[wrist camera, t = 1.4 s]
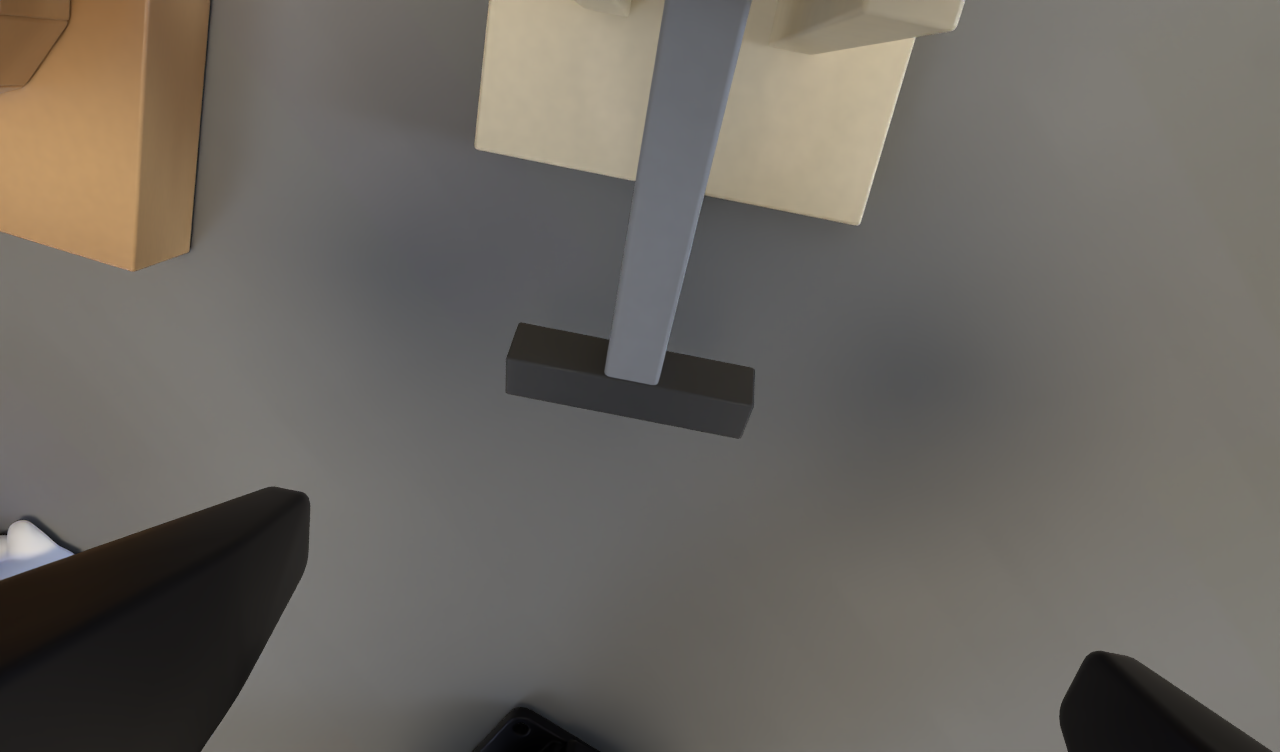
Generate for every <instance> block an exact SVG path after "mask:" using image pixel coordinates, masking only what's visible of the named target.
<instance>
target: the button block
mask: <svg viewBox="0 0 1280 752" xmlns="http://www.w3.org/2000/svg"><path fill="white" fill-rule="evenodd" d="M209 10H210V0H0V232H4V233H7V234H10V235H14V236H17V237H20V238H23V239H27V240H30V241H33V242H36V243H40V244H43V245H46V246H50V247H53V248H56V249H59V250H63V251H66V252H69V253H73V254H76V255H79V256H82V257H86V258H89V259H92V260H95V261H99V262H102V263H105V264H109V265H112V266H115V267H118V268H122V269H125V270H128V271H132V272H134V271H137V270H140V269H143V268H146V267H149V266H152V265H154V264H157V263H160V262H163V261H166V260H168V259H171V258H174V257H177V256H180V255H183V254H185V253H188V252H189V249H190V237H191V225H192V214H193V202H194V190H195V178H196V166H197V154H198V142H199V130H200V118H201V106H202V94H203V82H204V70H205V58H206V46H207V34H208V22H209Z"/></svg>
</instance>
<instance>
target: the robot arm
mask: <svg viewBox="0 0 1280 752" xmlns="http://www.w3.org/2000/svg"><path fill="white" fill-rule="evenodd" d="M309 527H310V501H309V498H308V496H307V495H306V494H305V493H303V492H299V491H294V490H289V489H284V488H279V487H267V488H264V489H261V490H258V491H255V492H252V493H250V494H247V495H244V496H241V497H238V498H235V499H232V500H229V501H227V502H224V503H221V504H218V505H215V506H212V507H209V508H207V509H204V510H201V511H198V512H195V513H192V514H189V515H186V516H184V517H181V518H178V519H175V520H172V521H169V522H166V523H163V524H161V525H158V526H155V527H152V528H149V529H146V530H143V531H140V532H138V533H135V534H132V535H129V536H126V537H123V538H120V539H117V540H115V541H112V542H109V543H106V544H103V545H100V546H97V547H94V548H92V549H89V550H86V551H83V552H80V553H77V554H74V555H71V556H69V557H66V558H63V559H60V560H57V561H54V562H51V563H48V564H46V565H43V566H40V567H37V568H34V569H31V570H28V571H25V572H23V573H20V574H17V575H14V576H11V577H8V578H5V579H2V580H0V752H201V750H202V749H203V747H204V746H205V744H206V743H207V741H208V740H209V738H210V737H211V735H212V734H213V733H214V731H215V730H216V728H217V727H218V725H219V724H220V722H221V721H222V719H223V718H224V716H225V715H226V713H227V712H228V710H229V709H230V707H231V706H232V704H233V702H234V701H235V699H236V698H237V696H238V695H239V693H240V691H241V689H242V687H243V686H244V684H245V682H246V680H247V679H248V677H249V675H250V673H251V671H252V669H253V668H254V666H255V664H256V662H257V660H258V658H259V656H260V654H261V653H262V651H263V649H264V647H265V645H266V643H267V641H268V639H269V638H270V636H271V634H272V632H273V630H274V628H275V626H276V624H277V623H278V621H279V619H280V617H281V615H282V613H283V611H284V609H285V608H286V606H287V604H288V602H289V600H290V598H291V596H292V594H293V593H294V591H295V589H296V587H297V585H298V583H299V581H300V579H301V577H302V575H303V573H304V570H305V567H306V564H307V560H308V550H309ZM1059 718H1060V726H1061V730H1062V733H1063V737H1064V740H1065V743H1066V746H1067V750H1068V752H1272V751H1271V750H1269V749H1268V748H1266V747H1265V746H1263V745H1262V744H1260V743H1259V742H1258V741H1256V740H1255V739H1253V738H1252V737H1250V736H1249V735H1247V734H1246V733H1244V732H1243V731H1241V730H1240V729H1238V728H1237V727H1235V726H1234V725H1232V724H1231V723H1229V722H1228V721H1226V720H1225V719H1223V718H1222V717H1220V716H1219V715H1217V714H1216V713H1214V712H1213V711H1211V710H1210V709H1209V708H1207V707H1206V706H1204V705H1203V704H1201V703H1200V702H1198V701H1197V700H1195V699H1194V698H1192V697H1191V696H1189V695H1188V694H1186V693H1185V692H1183V691H1182V690H1180V689H1179V688H1177V687H1176V686H1174V685H1173V684H1171V683H1170V682H1168V681H1167V680H1165V679H1164V678H1162V677H1161V676H1160V675H1158V674H1157V673H1155V672H1154V671H1152V670H1151V669H1149V668H1148V667H1146V666H1145V665H1143V664H1142V663H1140V662H1139V661H1137V660H1135V659H1134V658H1131V657H1128V656H1125V655H1119V654H1114V653H1109V652H1104V651H1095V652H1092V653H1090V654H1089V655H1088V656H1086V658H1085V659H1084V661H1083V663H1082V664H1081V666H1080V668H1079V670H1078V672H1077V674H1076V676H1075V678H1074V680H1073V682H1072V684H1071V685H1070V687H1069V689H1068V691H1067V693H1066V695H1065V697H1064V699H1063V701H1062V703H1061V707H1060V715H1059ZM519 723H523V724H526V725H521V724H519ZM473 752H600V751H598V750H597V749H595V748H593V747H592V746H590V745H588V744H587V743H585V742H583V741H582V740H580V739H578V738H577V737H575V736H574V735H572V734H570V733H569V732H567V731H565V730H564V729H562V728H560V727H559V726H557V725H555V724H554V723H552V722H550V721H549V720H547V719H546V718H544V717H542V716H541V715H539V714H537V713H536V712H534V711H532V710H530V709H528V708H521V707H520V708H516V709H514V710H512V711H511V712H510V713H509V714H508V715H507V716H506V717H505V718H504V719H503V720H502V721H501V722H500V723H499V725H498V726H497V727H496V728H495V729H494V730H493V731H492V732H491V733H490V734H489V735H488V736H487V737H486V738H485V739H484V741H483V742H482V743H481V744H480V745H479V746H478V747H477V748H476V749H475V750H474V751H473Z"/></svg>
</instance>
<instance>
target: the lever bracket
mask: <svg viewBox="0 0 1280 752" xmlns="http://www.w3.org/2000/svg"><path fill="white" fill-rule="evenodd" d="M664 3H665V0H489V5H488V15H487V25H486V35H485V44H484V54H483V64H482V74H481V84H480V94H479V104H478V113H477V123H476V133H475V143H474V146H475V148H476V149H477V150H481V151H486V152H491V153H496V154H501V155H506V156H511V157H516V158H521V159H526V160H531V161H536V162H541V163H546V164H551V165H556V166H561V167H566V168H571V169H576V170H581V171H586V172H591V173H596V174H601V175H606V176H611V177H616V178H621V179H626V180H631V181H635V180H636V174H637V168H638V162H639V156H640V150H641V143H642V137H643V131H644V125H645V119H646V113H647V107H648V101H649V94H650V88H651V82H652V76H653V70H654V64H655V58H656V52H657V45H658V39H659V33H660V27H661V21H662V15H663V9H664ZM964 3H965V0H752V2H751V7H750V11H749V15H748V19H747V23H746V27H745V31H744V35H743V39H742V43H741V47H740V52H739V56H738V60H737V64H736V68H735V72H734V76H733V80H732V84H731V88H730V92H729V96H728V101H727V105H726V109H725V113H724V117H723V121H722V125H721V129H720V133H719V137H718V141H717V146H716V150H715V154H714V158H713V162H712V166H711V170H710V174H709V178H708V182H707V186H706V191H705V196H710V197H715V198H720V199H725V200H730V201H735V202H740V203H745V204H750V205H755V206H760V207H765V208H770V209H775V210H780V211H785V212H790V213H795V214H800V215H805V216H810V217H815V218H820V219H825V220H830V221H835V222H840V223H845V224H850V225H855V226H856V225H859V224H860V223H861V220H862V216H863V213H864V210H865V206H866V203H867V200H868V196H869V193H870V190H871V186H872V183H873V179H874V176H875V173H876V169H877V166H878V163H879V159H880V156H881V153H882V149H883V146H884V142H885V139H886V136H887V132H888V129H889V126H890V122H891V119H892V116H893V112H894V109H895V105H896V102H897V99H898V95H899V92H900V89H901V85H902V82H903V78H904V75H905V72H906V68H907V65H908V62H909V58H910V55H911V52H912V48H913V45H914V41H915V38H916V37H920V36H926V35H932V34H938V33H944V32H949V31H954V29H955V28H956V27H957V25H958V22H959V19H960V16H961V12H962V9H963V6H964Z"/></svg>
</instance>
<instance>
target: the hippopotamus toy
mask: <svg viewBox="0 0 1280 752" xmlns="http://www.w3.org/2000/svg"><path fill="white" fill-rule="evenodd" d="M71 555H74V553H72V552H71V551H69V550H67V549H65V548H63V547H61V546H59V545H57V544H56V543H55V542H54V541H53V540H52V539H50V538H49V537H48V536H47V535H46V534H45V533H43V532H42V531H41V530H40V529H39V528H37V527H36V526H35V525H34V524H32V523H31V522H29V521H26V520H19V521H16V522H14V523H13V524H11V526H10V527H9V529H8V533H7V535H0V580H2V579H5V578H8V577H11V576H14V575H17V574H20V573H23V572H25V571H28V570H31V569H34V568H37V567H40V566H43V565H46V564H48V563H51V562H54V561H57V560H60V559H63V558H66V557H69V556H71Z"/></svg>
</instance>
